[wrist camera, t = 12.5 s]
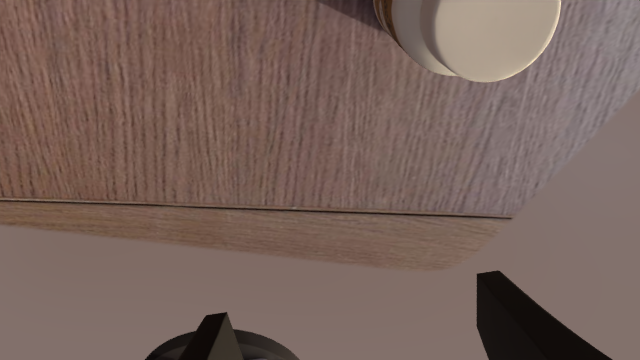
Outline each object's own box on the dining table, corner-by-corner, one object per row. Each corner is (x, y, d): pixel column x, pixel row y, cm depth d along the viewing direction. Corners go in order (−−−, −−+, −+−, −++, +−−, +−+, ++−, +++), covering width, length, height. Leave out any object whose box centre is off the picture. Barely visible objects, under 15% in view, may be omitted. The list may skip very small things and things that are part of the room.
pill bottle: (350, 8, 19) (380, 46, 12) (416, -95, 17) (493, -119, 10) (430, 64, 20) (499, 128, 13) (499, -26, 19) (617, -7, 12)
